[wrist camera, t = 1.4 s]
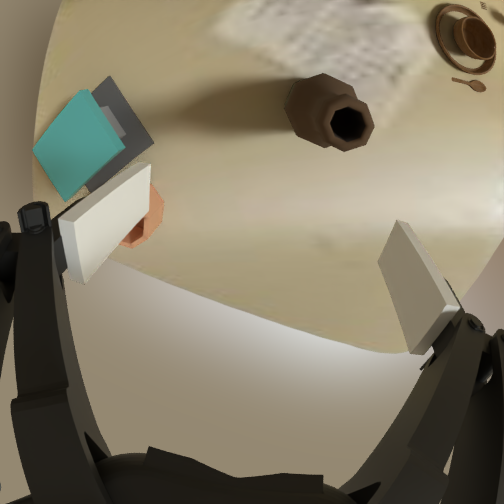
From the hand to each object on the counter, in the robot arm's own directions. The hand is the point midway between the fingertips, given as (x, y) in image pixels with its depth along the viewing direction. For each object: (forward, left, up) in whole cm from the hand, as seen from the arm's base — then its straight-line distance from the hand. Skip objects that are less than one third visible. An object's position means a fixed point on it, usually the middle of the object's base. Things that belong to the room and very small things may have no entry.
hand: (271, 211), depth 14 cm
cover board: (-15, -25, -22) cm, 37 cm away
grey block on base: (-15, -25, -28) cm, 41 cm away
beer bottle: (-1, +6, -28) cm, 29 cm away
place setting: (-1, +38, -29) cm, 48 cm away
